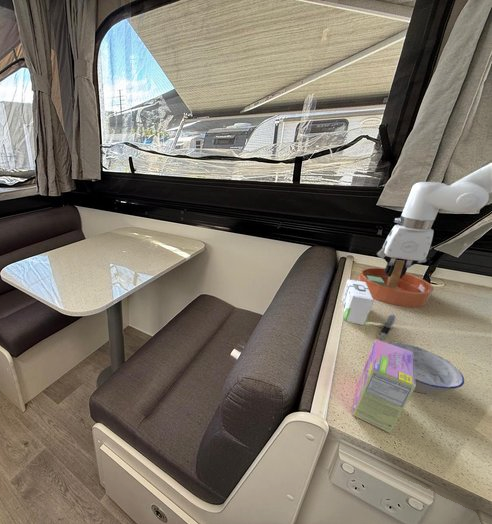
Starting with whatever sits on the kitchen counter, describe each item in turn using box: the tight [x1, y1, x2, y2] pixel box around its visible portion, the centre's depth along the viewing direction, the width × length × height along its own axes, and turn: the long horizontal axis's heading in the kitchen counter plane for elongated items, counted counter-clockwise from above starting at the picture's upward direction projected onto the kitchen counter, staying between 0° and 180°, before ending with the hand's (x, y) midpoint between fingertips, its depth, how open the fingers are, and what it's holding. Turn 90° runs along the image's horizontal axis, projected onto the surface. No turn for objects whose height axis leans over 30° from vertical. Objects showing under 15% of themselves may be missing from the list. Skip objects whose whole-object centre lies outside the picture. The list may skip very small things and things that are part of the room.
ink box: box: [341, 278, 375, 326], centre depth 80 cm, size 9×5×12 cm
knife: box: [376, 314, 395, 340], centre depth 75 cm, size 15×1×3 cm
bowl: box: [387, 341, 465, 395], centre depth 58 cm, size 13×13×5 cm
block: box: [366, 275, 384, 286], centre depth 92 cm, size 4×4×4 cm
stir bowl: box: [357, 267, 434, 308], centre depth 90 cm, size 18×18×6 cm
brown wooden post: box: [383, 259, 404, 291], centre depth 90 cm, size 4×4×10 cm
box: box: [351, 339, 416, 434], centre depth 51 cm, size 10×6×12 cm, turn 138°
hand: (393, 275), depth 91 cm, fingers closed on brown wooden post, 2 cm apart
